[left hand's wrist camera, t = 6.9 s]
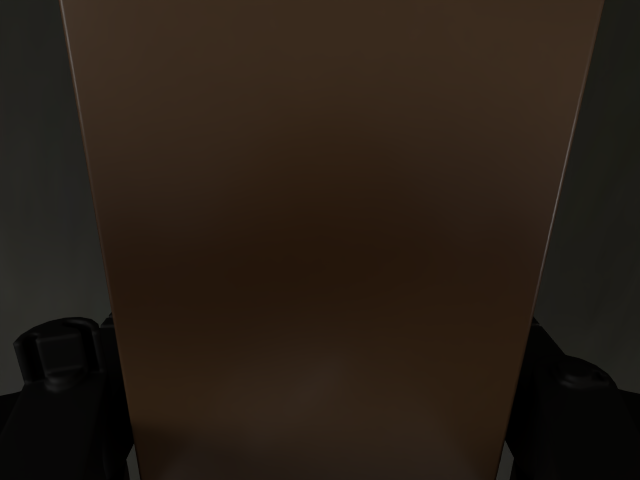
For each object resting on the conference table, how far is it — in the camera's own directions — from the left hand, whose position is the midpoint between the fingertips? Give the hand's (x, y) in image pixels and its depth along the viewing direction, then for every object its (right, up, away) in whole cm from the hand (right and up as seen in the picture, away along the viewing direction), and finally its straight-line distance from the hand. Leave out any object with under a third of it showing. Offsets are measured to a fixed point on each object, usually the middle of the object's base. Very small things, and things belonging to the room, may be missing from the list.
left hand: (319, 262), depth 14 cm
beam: (0, +24, -9) cm, 25 cm away
